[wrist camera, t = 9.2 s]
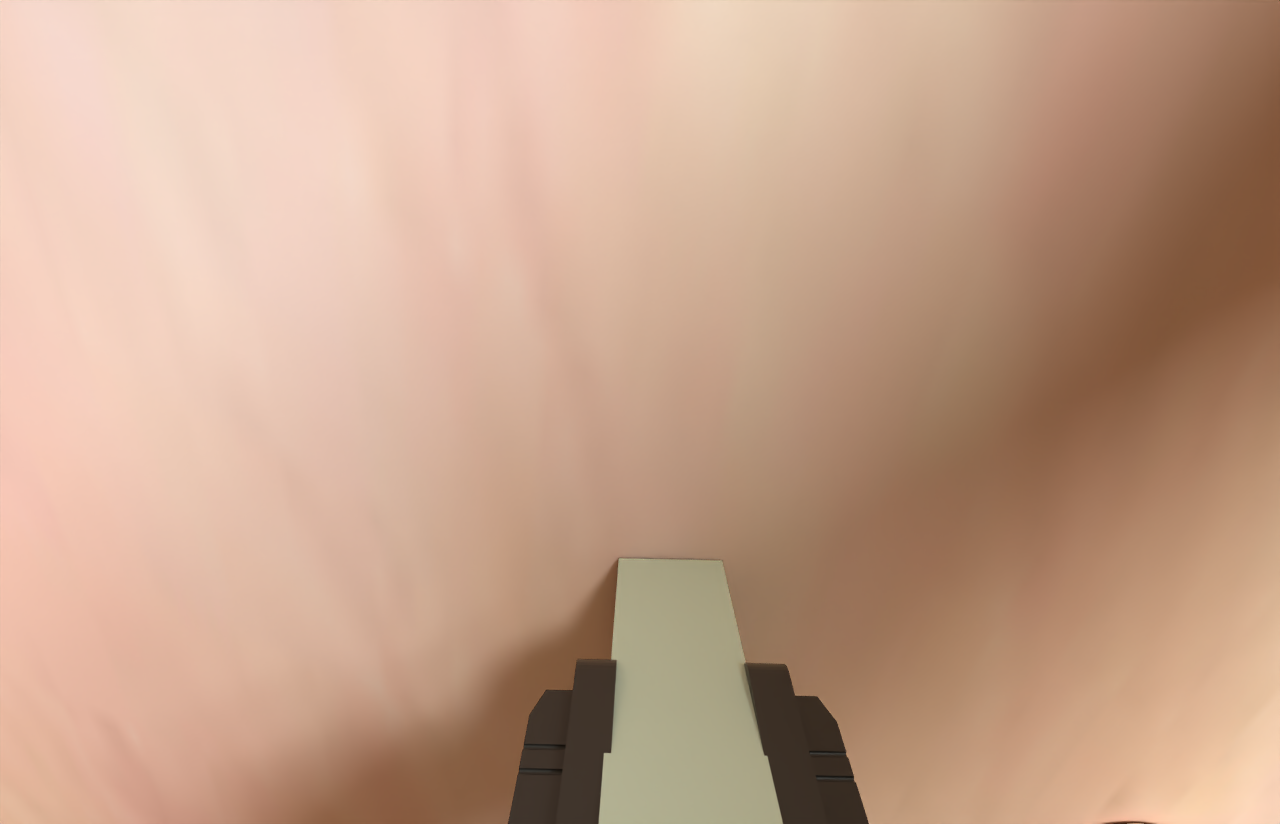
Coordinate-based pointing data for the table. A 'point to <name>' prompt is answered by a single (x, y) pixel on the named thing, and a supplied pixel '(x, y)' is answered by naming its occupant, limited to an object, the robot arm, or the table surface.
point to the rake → (682, 703)
